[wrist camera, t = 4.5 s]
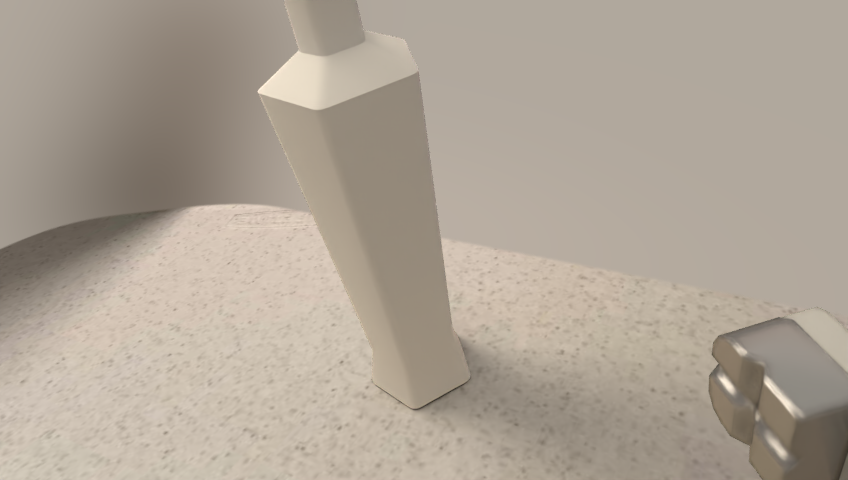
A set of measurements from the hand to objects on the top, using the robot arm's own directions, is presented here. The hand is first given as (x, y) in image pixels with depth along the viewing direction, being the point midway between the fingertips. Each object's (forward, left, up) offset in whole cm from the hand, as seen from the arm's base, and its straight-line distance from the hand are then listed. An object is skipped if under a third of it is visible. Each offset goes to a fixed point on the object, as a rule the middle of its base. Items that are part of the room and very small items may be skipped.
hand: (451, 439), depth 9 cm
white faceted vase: (-3, -11, -11) cm, 16 cm away
